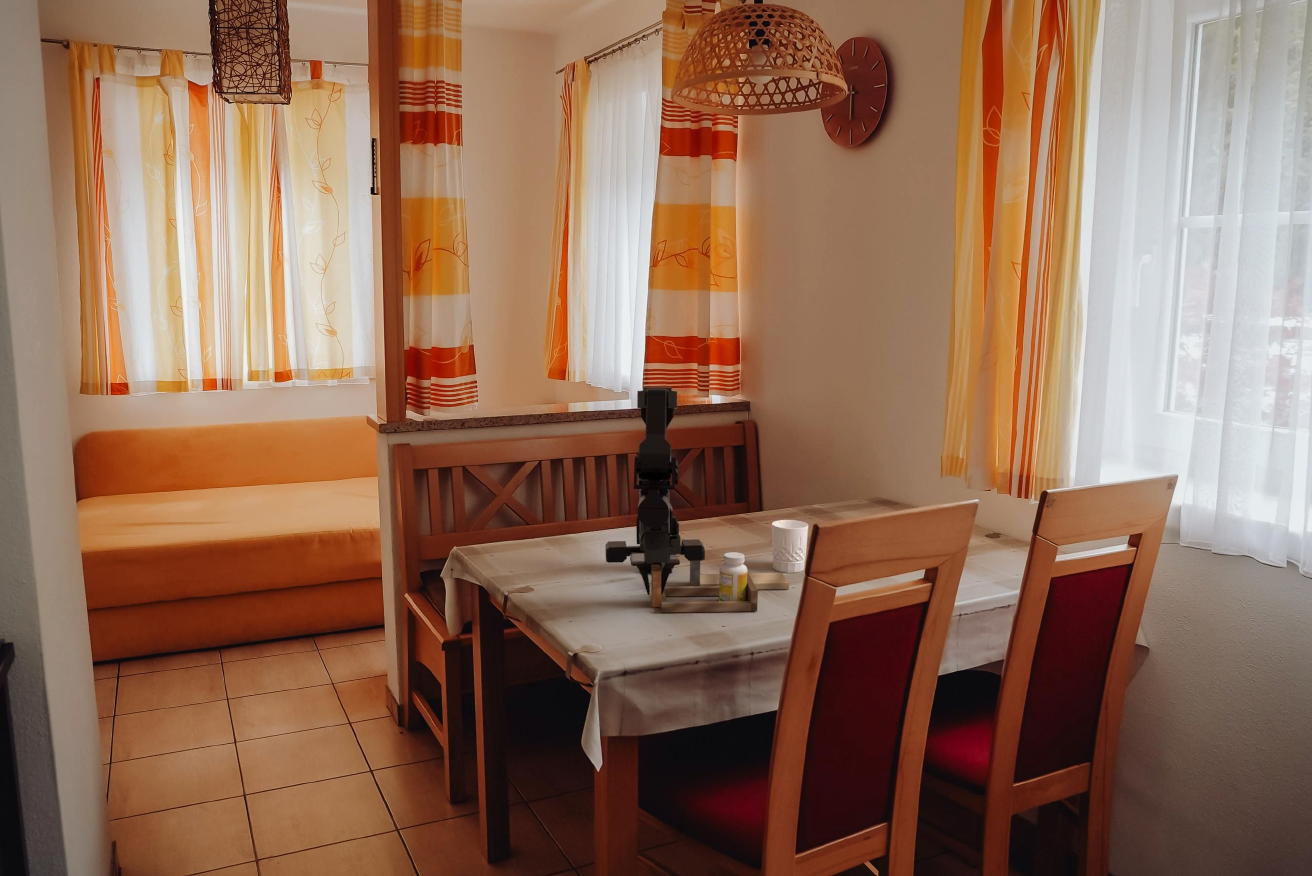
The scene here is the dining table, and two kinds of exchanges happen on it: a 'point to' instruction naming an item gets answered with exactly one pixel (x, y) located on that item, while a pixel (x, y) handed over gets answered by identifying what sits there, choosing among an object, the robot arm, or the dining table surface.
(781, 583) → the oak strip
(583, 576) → the dining table surface
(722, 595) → the supplement bottle
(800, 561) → the white cup
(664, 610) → the wooden tray
